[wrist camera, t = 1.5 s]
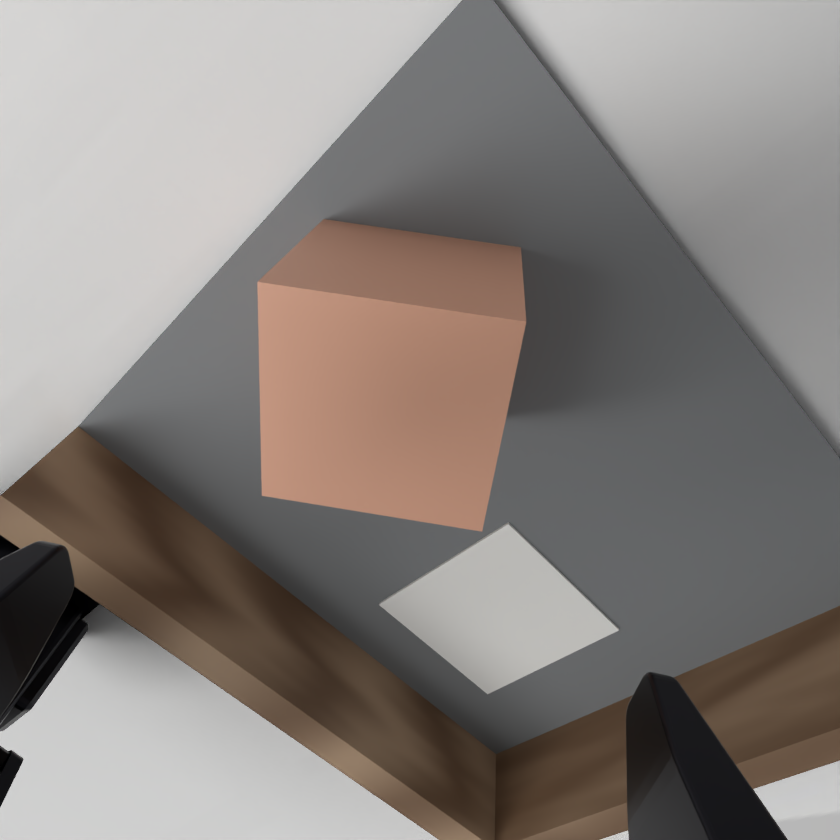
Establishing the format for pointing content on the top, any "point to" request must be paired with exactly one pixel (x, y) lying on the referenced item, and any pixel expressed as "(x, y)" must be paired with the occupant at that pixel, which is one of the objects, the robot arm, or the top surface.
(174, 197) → the top surface
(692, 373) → the mat
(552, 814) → the corner walls
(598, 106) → the top surface
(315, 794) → the top surface
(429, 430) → the cube
